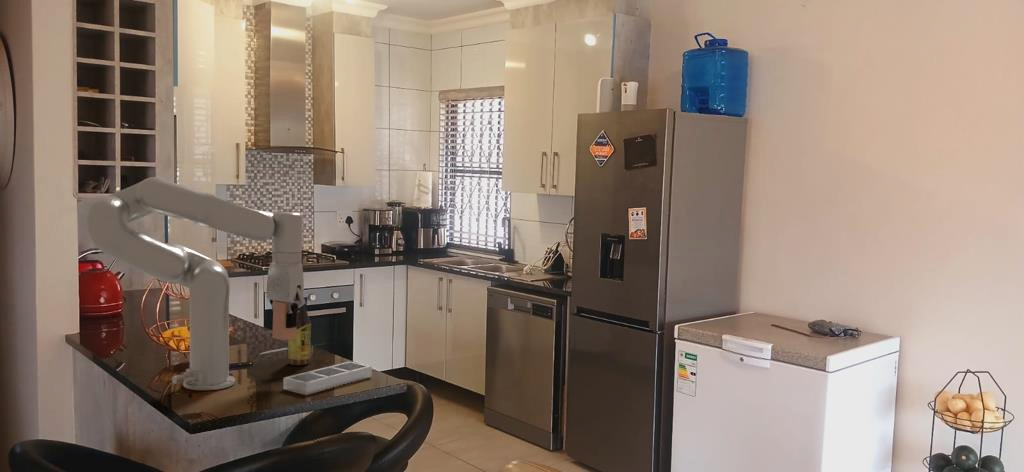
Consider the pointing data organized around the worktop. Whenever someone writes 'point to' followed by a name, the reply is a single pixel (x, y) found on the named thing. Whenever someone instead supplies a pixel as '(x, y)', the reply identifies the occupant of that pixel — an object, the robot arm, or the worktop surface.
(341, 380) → the hole rail
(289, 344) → the sauce bottle
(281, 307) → the square peg
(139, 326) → the worktop surface
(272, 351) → the chef's knife
